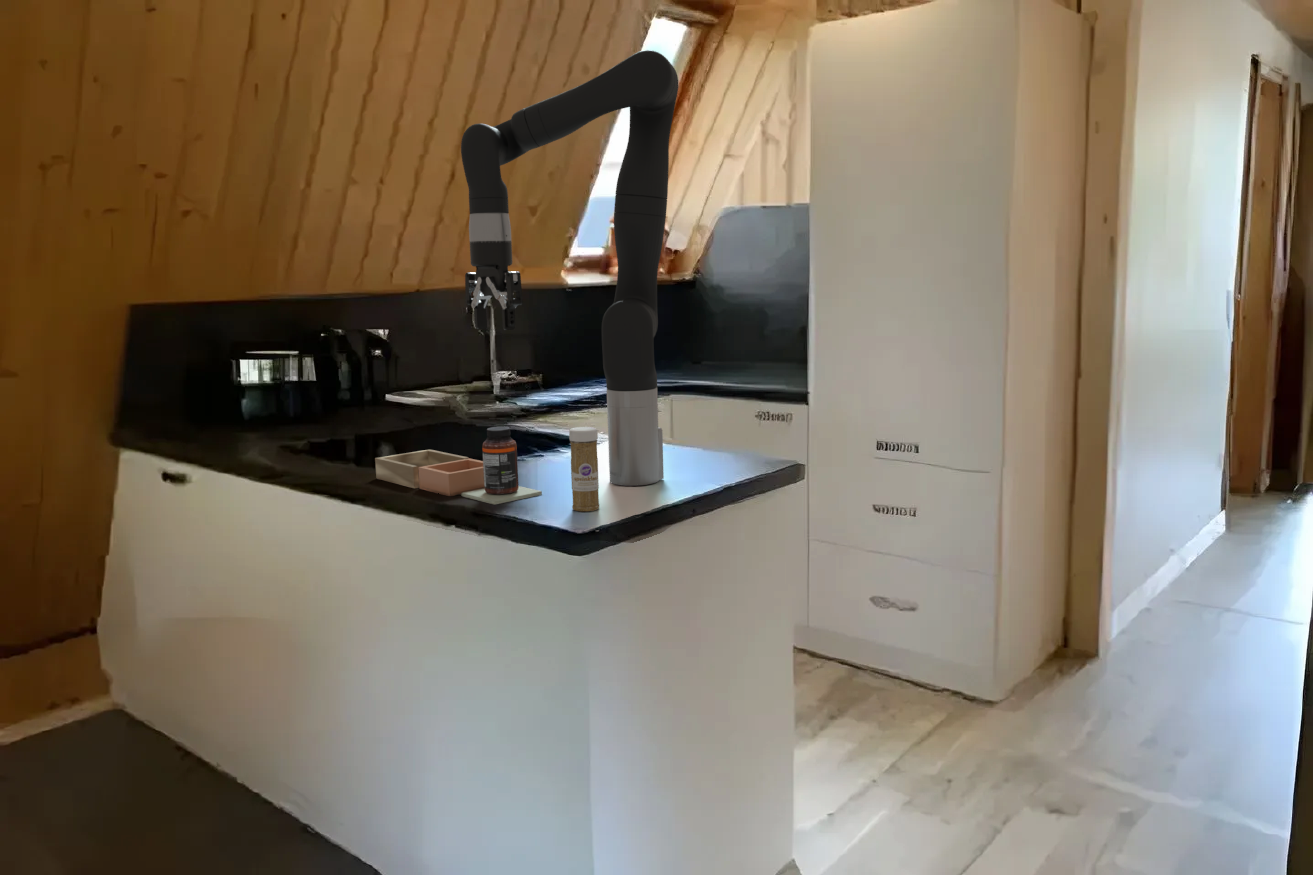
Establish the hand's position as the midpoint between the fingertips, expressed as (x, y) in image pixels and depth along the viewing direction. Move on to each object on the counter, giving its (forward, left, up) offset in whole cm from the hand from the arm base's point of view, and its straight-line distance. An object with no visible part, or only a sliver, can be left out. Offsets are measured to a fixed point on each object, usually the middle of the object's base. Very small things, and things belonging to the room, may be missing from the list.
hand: (494, 329), depth 188 cm
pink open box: (+9, 0, -28) cm, 30 cm away
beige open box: (+9, -13, -28) cm, 33 cm away
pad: (+8, +11, -28) cm, 31 cm away
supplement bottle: (+8, +11, -28) cm, 31 cm away
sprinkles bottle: (+5, +31, -29) cm, 42 cm away
